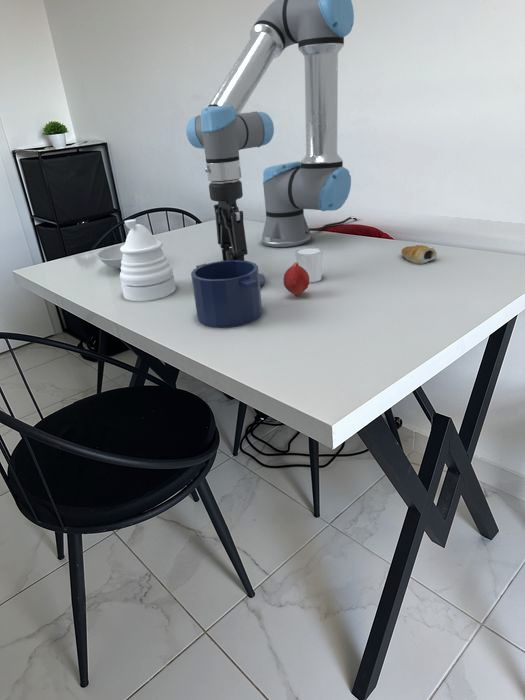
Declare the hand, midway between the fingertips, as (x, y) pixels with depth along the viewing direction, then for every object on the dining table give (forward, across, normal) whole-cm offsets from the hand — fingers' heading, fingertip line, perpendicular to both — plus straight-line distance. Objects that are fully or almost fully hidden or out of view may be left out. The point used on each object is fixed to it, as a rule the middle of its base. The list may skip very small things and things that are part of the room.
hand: (235, 277), depth 126 cm
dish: (+2, -34, -22) cm, 41 cm away
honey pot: (+2, -8, -20) cm, 22 cm away
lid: (+1, 0, 0) cm, 1 cm away
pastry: (+2, +10, +47) cm, 48 cm away
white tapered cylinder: (+2, +7, +17) cm, 18 cm away
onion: (+2, +16, +9) cm, 18 cm away
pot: (+2, +18, -8) cm, 20 cm away
